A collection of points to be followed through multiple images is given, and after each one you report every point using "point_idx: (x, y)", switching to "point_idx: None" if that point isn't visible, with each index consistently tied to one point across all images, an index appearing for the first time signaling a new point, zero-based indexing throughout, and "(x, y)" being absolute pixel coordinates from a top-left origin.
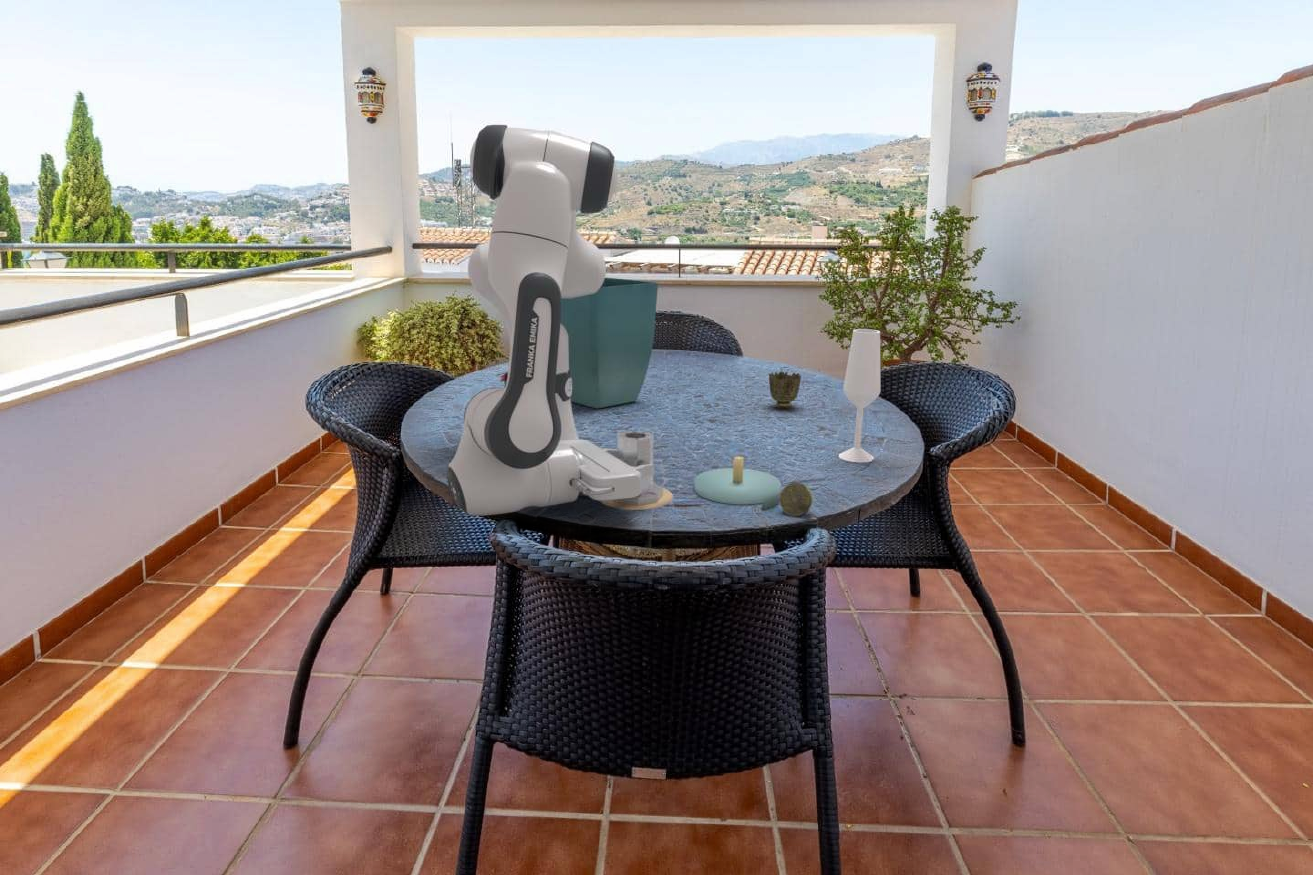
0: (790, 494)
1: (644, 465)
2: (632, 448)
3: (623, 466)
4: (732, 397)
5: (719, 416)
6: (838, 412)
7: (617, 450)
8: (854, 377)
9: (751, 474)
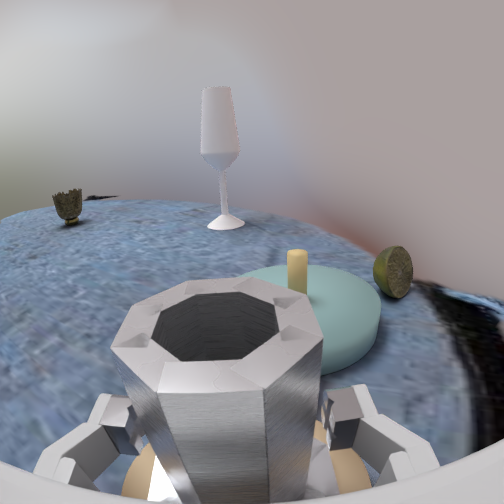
0: (394, 268)
1: (372, 412)
2: (302, 396)
3: (476, 490)
4: (19, 235)
5: (33, 251)
6: (118, 211)
7: (98, 426)
8: (224, 134)
9: (269, 278)
